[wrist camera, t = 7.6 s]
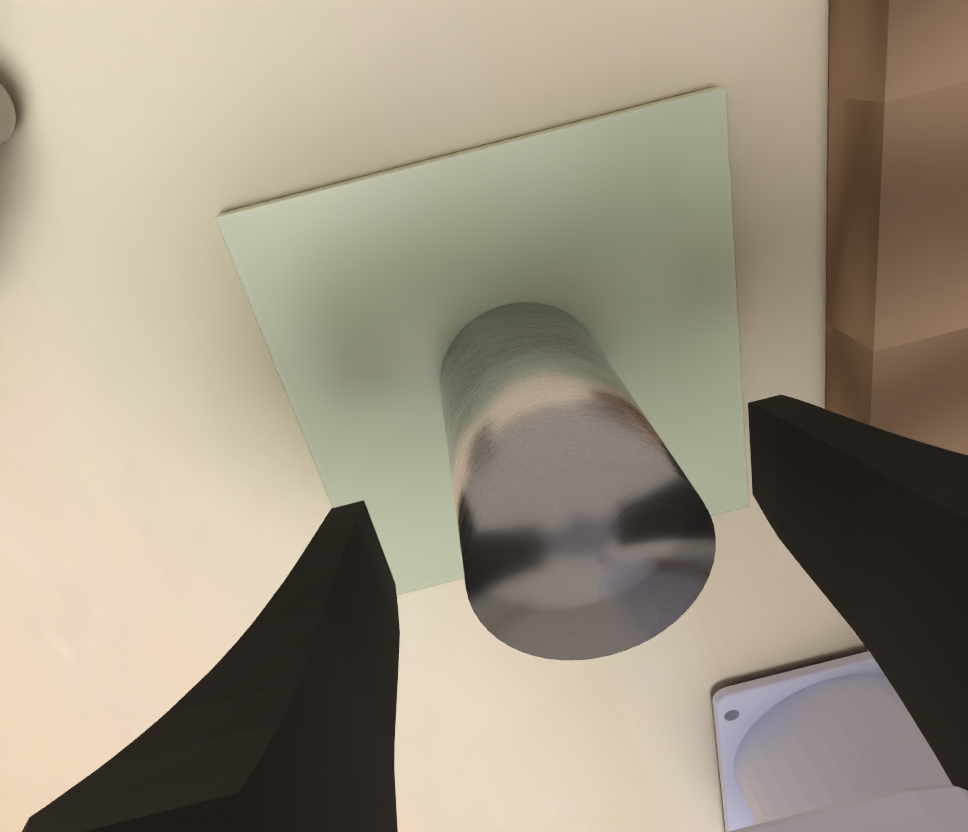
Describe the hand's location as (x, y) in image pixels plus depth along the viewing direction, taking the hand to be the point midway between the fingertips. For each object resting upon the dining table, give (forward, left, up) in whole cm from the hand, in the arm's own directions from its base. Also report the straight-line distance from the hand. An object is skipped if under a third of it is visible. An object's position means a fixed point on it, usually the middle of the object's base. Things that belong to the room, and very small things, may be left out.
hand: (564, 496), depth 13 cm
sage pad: (0, 0, -5) cm, 5 cm away
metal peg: (0, 0, -5) cm, 5 cm away
